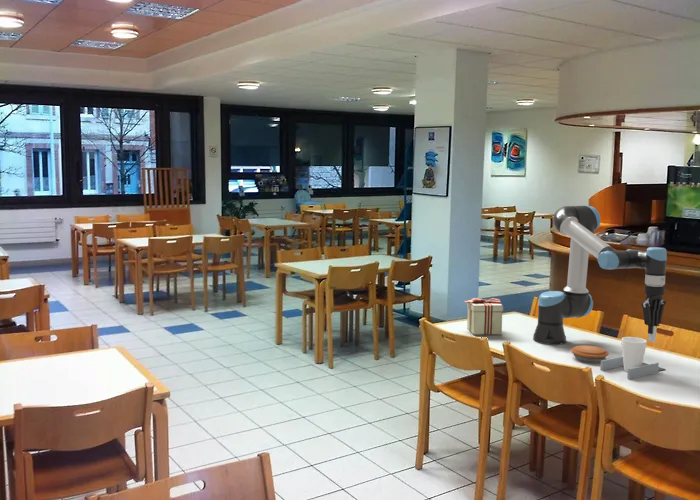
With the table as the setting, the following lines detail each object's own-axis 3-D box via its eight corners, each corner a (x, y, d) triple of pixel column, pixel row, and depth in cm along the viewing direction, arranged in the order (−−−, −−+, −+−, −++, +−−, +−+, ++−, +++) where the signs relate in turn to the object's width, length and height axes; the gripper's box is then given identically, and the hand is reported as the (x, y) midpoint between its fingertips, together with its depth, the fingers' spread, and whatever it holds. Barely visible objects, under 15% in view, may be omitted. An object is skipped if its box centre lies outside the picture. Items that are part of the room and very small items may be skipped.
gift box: (491, 326, 341) (492, 294, 339) (504, 335, 323) (506, 301, 320) (460, 327, 338) (461, 294, 336) (471, 336, 320) (472, 301, 318)
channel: (600, 370, 267) (600, 360, 267) (628, 363, 276) (629, 354, 276) (629, 379, 255) (629, 369, 255) (657, 372, 264) (658, 363, 264)
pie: (562, 356, 287) (563, 345, 286) (589, 352, 293) (590, 341, 292) (588, 366, 273) (589, 354, 272) (616, 362, 279) (616, 350, 279)
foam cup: (615, 367, 271) (617, 336, 269) (636, 367, 272) (638, 336, 270) (627, 374, 262) (629, 342, 260) (649, 374, 262) (651, 342, 261)
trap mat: (630, 364, 275) (630, 363, 275) (639, 362, 278) (639, 361, 278) (656, 372, 265) (656, 371, 265) (665, 369, 268) (665, 369, 268)
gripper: (653, 287, 261) (649, 345, 264) (673, 285, 268) (669, 341, 271) (636, 285, 268) (633, 341, 271) (656, 282, 274) (653, 337, 277)
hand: (651, 341), depth 271 cm, fingers closed
